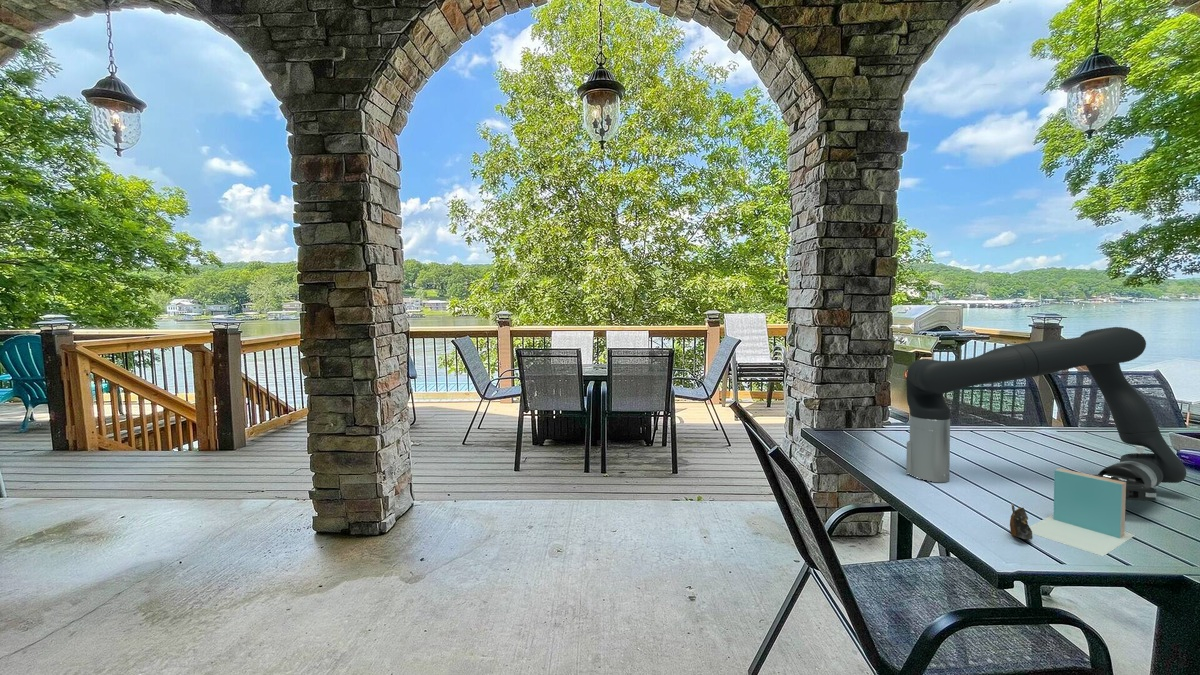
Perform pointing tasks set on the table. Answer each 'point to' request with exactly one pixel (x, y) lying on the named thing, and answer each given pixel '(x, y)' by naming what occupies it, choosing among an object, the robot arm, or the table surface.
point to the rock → (1020, 524)
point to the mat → (1077, 536)
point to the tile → (1090, 502)
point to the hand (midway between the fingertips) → (1099, 493)
